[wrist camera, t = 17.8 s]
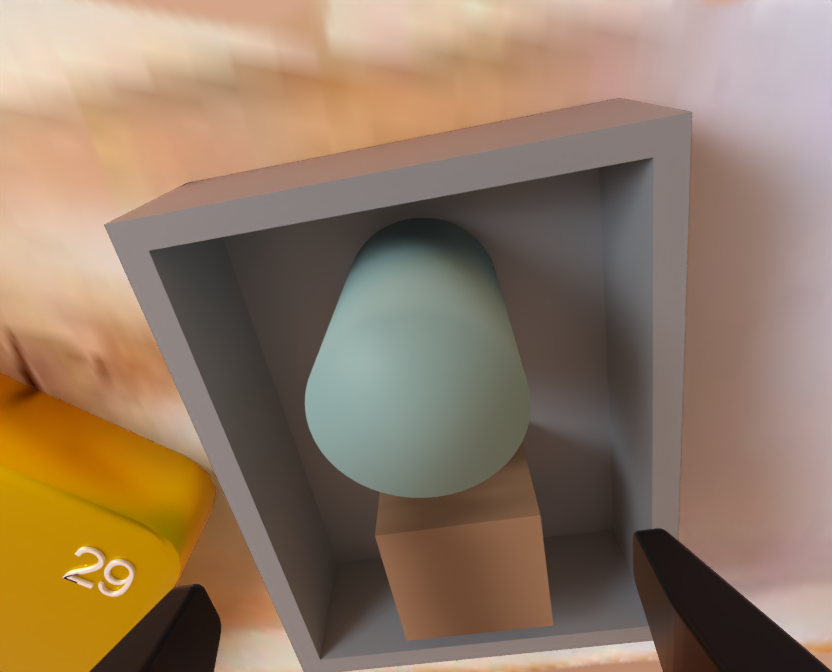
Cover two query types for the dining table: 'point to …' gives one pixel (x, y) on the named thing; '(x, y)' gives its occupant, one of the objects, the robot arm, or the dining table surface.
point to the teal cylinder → (419, 366)
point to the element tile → (85, 530)
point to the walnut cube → (467, 557)
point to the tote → (533, 331)
